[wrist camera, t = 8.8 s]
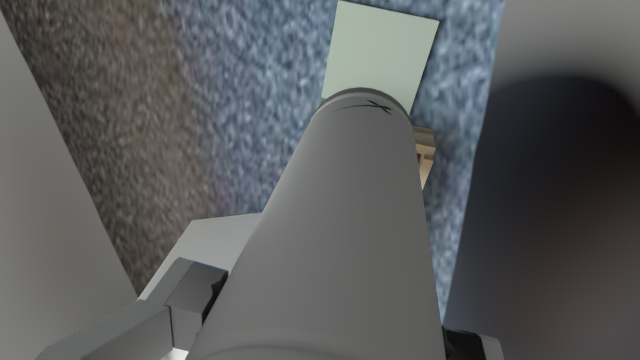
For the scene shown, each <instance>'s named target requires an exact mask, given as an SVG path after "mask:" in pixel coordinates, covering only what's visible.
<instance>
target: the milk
mask: <svg viewBox="0 0 640 360" xmlns="http://www.w3.org/2000/svg"><path fill="white" fill-rule="evenodd" d="M261 214H262V213H254V214H245V215H236V216H227V217H218V218H209V219H200V220H192V221H191V223H190V224H189V226H188V227H187V229H186V230H185V231H184V233H183V234H182V236H181V237H180V239H179V240H178V242H177V243H176V244H175V246H174V247H173V249H172V250H171V252H170V253H169V255H168V256H167V257H166V259H165V260H164V262H163V263H162V265H161V266H160V268H159V269H158V270H157V272H156V273H155V275H154V276H153V278H152V279H151V281H150V282H149V283H148V285H147V286H146V288H145V289H144V291H143V292H142V294H141V295H140V296H139V298H138V300H139V299H142V300H145V299H146V298H147V297H148V295H149V294H150V293H151V291H152V290H153V289H154V287H155V286H156V285H157V283H158V282H159V281H160V279H161V278H162V277H163V275H164V274H165V272H166V271H167V270H168V268H169V267H170V266H171V264H172V263H173V262H174V260H176V259H177V258H179V257H182V258H185V259H189V260H193V261H197V262H200V263H204V264H207V265H211V266H214V267H218V268H221V269H224V270H228V271H229V275H230V273H231V271H232V269H233V267H234V265H235V263H236V261H237V259H238V258H239V256H240V254H241V252H242V250H243V248H244V246H245V244H246V242H247V240H248V239H249V237H250V235H251V233H252V231H253V229H254V227H255V225H256V223H257V221H258V220H259V218H260V216H261ZM188 352H189V351H185V350H180V349H176V348H173V350H172V351H171V352H169V353H168V354H167V355H165V356H164V357H163V358H161V359H160V360H185V358H186V356H187V354H188Z"/></svg>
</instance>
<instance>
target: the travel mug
mask: <svg viewBox="0 0 640 360" xmlns="http://www.w3.org/2000/svg"><path fill="white" fill-rule="evenodd" d="M185 360H446V355H445V348H444V341H443V334H442V327H441V320H440V313H439V306H438V299H437V292H436V284H435V277H434V270H433V263H432V256H431V249H430V242H429V235H428V228H427V221H426V214H425V207H424V200H423V193H422V186H421V179H420V172H419V165H418V158H417V151H416V144H415V137H414V130H413V126H412V122H411V119H410V117H409V115H408V113H407V111H406V110H405V109H404V108H403V106H402V105H401V104H400V103H399V102H398V101H397V100H395V99H394V98H393V97H392V96H390V95H388V94H386V93H384V92H382V91H379V90H376V89H372V88H364V87H357V88H348V89H345V90H342V91H339V92H337V93H335V94H333V95H332V96H330V97H328V98H327V99H326V100H325V101H324V102H323V103H322V104H321V105H320V106H319V107H318V109H317V110H316V111H315V113H314V115H313V117H312V119H311V121H310V123H309V125H308V127H307V128H306V130H305V132H304V134H303V136H302V138H301V140H300V142H299V144H298V146H297V147H296V149H295V151H294V153H293V155H292V157H291V159H290V161H289V163H288V165H287V166H286V168H285V170H284V172H283V174H282V176H281V178H280V180H279V182H278V183H277V185H276V187H275V189H274V191H273V193H272V195H271V197H270V199H269V201H268V202H267V204H266V206H265V208H264V210H263V212H262V214H261V216H260V218H259V220H258V221H257V223H256V225H255V227H254V229H253V231H252V233H251V235H250V237H249V239H248V240H247V242H246V244H245V246H244V248H243V250H242V252H241V254H240V256H239V258H238V259H237V261H236V263H235V265H234V267H233V269H232V271H231V273H230V275H229V276H228V278H227V280H226V282H225V284H224V286H223V288H222V290H221V292H220V294H219V295H218V297H217V299H216V301H215V303H214V305H213V307H212V309H211V311H210V313H209V314H208V316H207V318H206V320H205V322H204V324H203V326H202V328H201V330H200V332H199V333H198V335H197V337H196V339H195V341H194V343H193V345H192V347H191V349H190V351H189V352H188V354H187V356H186V358H185Z"/></svg>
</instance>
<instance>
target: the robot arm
mask: <svg viewBox="0 0 640 360" xmlns="http://www.w3.org/2000/svg"><path fill="white" fill-rule="evenodd" d="M228 276H229V271H228V270H224V269H221V268H218V267H214V266H211V265H207V264H204V263H200V262H197V261H193V260H189V259H185V258H182V257H179V258H177V259H176V260H174V262H173V263H172V264H171V266H170V267H169V268H168V270H167V271H166V272H165V274H164V275H163V277H162V278H161V279H160V281H159V282H158V283H157V285H156V286H155V287H154V289H153V290H152V291H151V293H150V294H149V295H148V297H147V298H146V299H145V300H142V299H139V300H137V301H135V302H134V303H131V304H130V305H127V306H126V307H124V308H122V309H120V310H118V311H116V312H114V313H112V314H110V315H108V316H106V317H104V318H102V319H100V320H98V321H96V322H94V323H92V324H91V325H89V326H87V327H85V328H83V329H81V330H79V331H77V332H75V333H73V334H71V335H69V336H67V337H65V338H63V339H61V340H59V341H57V342H56V343H54V344H52V345H50V346H48V347H46V348H45V349H44V350H43V351H42V352H41V353H40V354H39V356H38V357H37V358H36V359H35V360H160V359H161V358H163V357H164V356H165V355H167V354H168V353H169V352H171V351H172V350H173V348H176V349H180V350H185V351H190V349H191V347H192V345H193V343H194V341H195V339H196V337H197V335H198V333H199V332H200V330H201V328H202V326H203V324H204V322H205V320H206V318H207V316H208V314H209V313H210V311H211V309H212V307H213V305H214V303H215V301H216V299H217V297H218V295H219V294H220V292H221V290H222V288H223V286H224V284H225V282H226V280H227V278H228ZM441 327H442V334H443V341H444V348H445V355H446V360H504V357H503V354H502V350H501V347H500V343H499V342H498V340H497V339H495V338H491V337H487V336H484V335H480V334H476V333H473V332H469V331H465V330H461V329H457V328H452V327H448V326H444V325H442V326H441Z"/></svg>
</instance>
